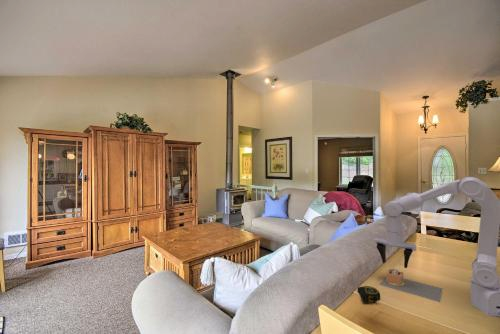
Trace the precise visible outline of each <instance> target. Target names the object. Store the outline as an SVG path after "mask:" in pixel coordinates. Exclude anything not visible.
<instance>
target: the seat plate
mask: <svg viewBox="0 0 500 334" xmlns="http://www.w3.org/2000/svg"><path fill="white" fill-rule="evenodd" d="M379 285H380V286H383V287H385V288H386V287H387V288H389V289H393V290H397V291H399V292H404V293H407V294H410V295H413V296H414V295H415V296H416V297H417V296H418V297H421V298H423V299H424V298H425V299H428V300H431V301H435V302H437V303H441V301H442V294H443V290H444V288H442V287H439V286H436V285H435V286H434V285H431V284H427V283H423V282H419V281H416V280H411V279H408V278H405V277H403V283H402V285H401V286H400V285H396V284H392V283H389V282H387V279H386V275H385V276H384V278H383V279H382V280H381V282H380V283H379Z"/></svg>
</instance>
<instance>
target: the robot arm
mask: <svg viewBox="0 0 500 334" xmlns="http://www.w3.org/2000/svg"><path fill="white" fill-rule="evenodd" d="M459 193H460V194H461V195H463V196H464V197H466V198H469V199H471V200H474V202H475V203H476V204H478V205H479V206H480V208H481V209H480V210H481V211H480V220H479V221H480V222H479V230H478V240H477V249H476V250H477V251H476V255H475V259H474V260H472V262H471V269H472V274H471V277H470V304H471V306H473V307H474V308H476V309H478V310H480V311H482V312H483V313H484V314H485V315H486V316H489V317H499V318H500V275H499V273H498V269H497V267H498V265H497V257H498V246H499V245H498V244H499V237H500V236H499V234H500V199H499V198H498V196H497V195H496V194H495V193H494V192H493V190H492V189H491V187H489V185H488V184H487V183H485V182H484V181H482V180H480V179H479V178H477V177H475V176H466V177H463V178H462V179H456V180H452V181H449V182H445V183H443V184H439V185H438V186H435V187H434V188H431V189H428V190H426V191H424V192H422V193H417V192H408V193H406V195H404V196H401V197H399V198H398V197H396V198H394V199H393V200H391V201H389V202H387V203H386V204H385V205H384V208H383V209H384V213H385V236H386V237H385V238H377V237H375V238H374V241H373V243H374V244H375V245H376V250H378V253H379V255H380V257H381V261H382V264H385V263H386V262H387V255H386V249H387V246H388V247H393V248H399V249H403V257H404V258H403V259H404V262H403V263H404V265H403V267H404V268H405V269H407V268H408V264H409V260H410V258H411V255H412V254H413V252H416V251H417V245H416V244H413V243H409V242H405V241H403V240H404V239H403V217H402V213H407V212H410V211H413V210H416V209H419V208H421V207H423V206H424V203H425V202H428V201H430V200H434V199H436V198H439V197H442V196H445V195H455V196H456V195H457V196H459Z"/></svg>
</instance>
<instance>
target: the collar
mask: <svg viewBox="0 0 500 334" xmlns="http://www.w3.org/2000/svg"><path fill="white" fill-rule="evenodd" d="M385 276H386V279H387V282H389V283H392V284H396V285H400V286H401V285H402V283H403V278H404V272H403V271H399V270H398V275H394V274H392V269H388V270H387V272H386V275H385Z"/></svg>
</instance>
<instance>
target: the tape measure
mask: <svg viewBox="0 0 500 334" xmlns="http://www.w3.org/2000/svg"><path fill="white" fill-rule="evenodd" d="M357 293H358V294H359V295H360V298H361V300H362V302H363V303H365V304H367V303H371V304H377V302H378V301H380V300H381V293H380V291H379V290H378V289H377V288H375V287H374V286H370V285H365V286H358V287H357Z"/></svg>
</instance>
